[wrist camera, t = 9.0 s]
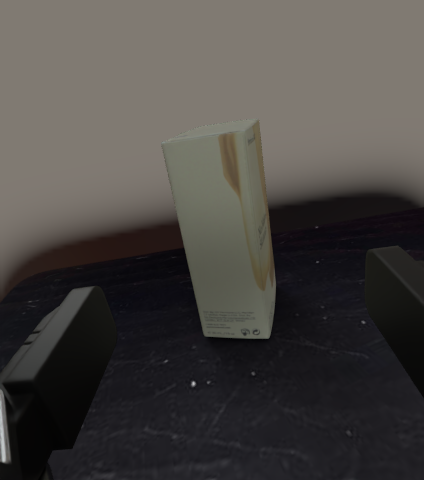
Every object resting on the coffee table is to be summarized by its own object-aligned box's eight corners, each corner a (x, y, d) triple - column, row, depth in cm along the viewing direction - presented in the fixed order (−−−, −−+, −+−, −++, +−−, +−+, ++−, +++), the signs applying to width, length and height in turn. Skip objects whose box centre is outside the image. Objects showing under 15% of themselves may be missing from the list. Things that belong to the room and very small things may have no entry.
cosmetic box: (271, 342, 19) (245, 129, 14) (202, 339, 20) (155, 142, 15) (277, 282, 25) (260, 114, 20) (223, 282, 26) (193, 124, 21)
